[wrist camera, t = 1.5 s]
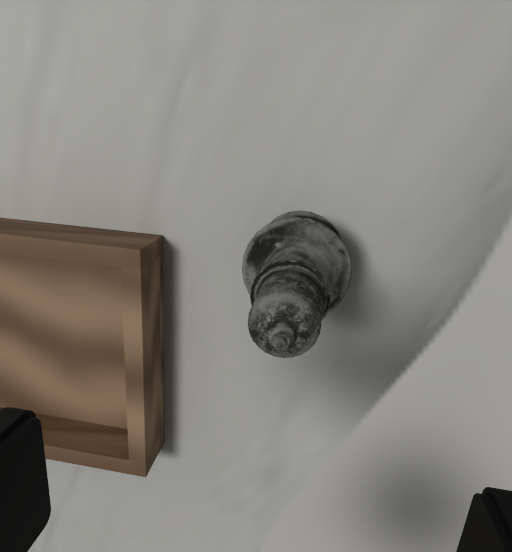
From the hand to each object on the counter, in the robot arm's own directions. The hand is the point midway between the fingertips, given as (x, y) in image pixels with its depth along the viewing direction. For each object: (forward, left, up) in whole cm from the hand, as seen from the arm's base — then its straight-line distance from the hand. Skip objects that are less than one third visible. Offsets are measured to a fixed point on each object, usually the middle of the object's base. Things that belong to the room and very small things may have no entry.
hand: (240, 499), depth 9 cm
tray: (+8, -17, -18) cm, 26 cm away
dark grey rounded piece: (0, 0, -18) cm, 18 cm away
